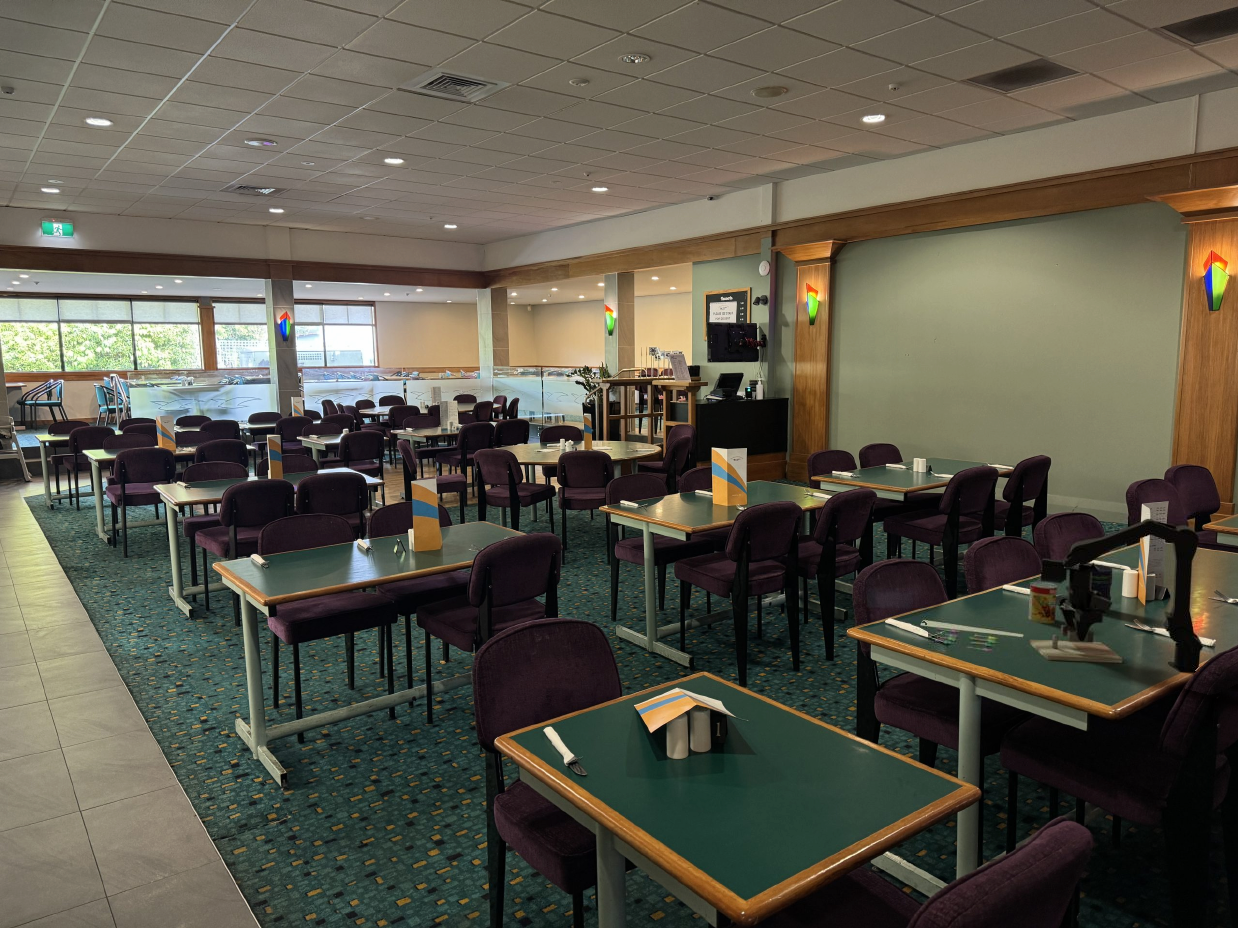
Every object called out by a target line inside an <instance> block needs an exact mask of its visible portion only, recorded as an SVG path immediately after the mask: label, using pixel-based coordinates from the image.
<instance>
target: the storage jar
mask: <svg viewBox="0 0 1238 928" xmlns="http://www.w3.org/2000/svg"><path fill="white" fill-rule="evenodd" d="M1090 564H1091V563H1088V564H1084V565H1090ZM1095 565H1096V566H1097V567H1098V568H1099V571H1100V572H1099V573H1095V572H1092V580H1091V590H1092V591H1098V592H1100V593H1102V597H1104V598H1105V599H1108V600H1109V601H1111V600H1112V596H1111V587H1112V584H1113V568H1112V567H1109V566H1106V565H1103V564H1102V565H1101V564H1095ZM1111 602H1112V601H1111ZM1088 609H1090V608H1088ZM1094 609H1095V610H1096V611H1098V612H1100V613H1101V614H1102V615H1106V614H1109V613H1110V611H1111V610H1109V612H1105V611H1104V610H1102V609H1099V608H1096V607H1095V608H1094Z"/></svg>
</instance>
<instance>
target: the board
mask: <svg viewBox="0 0 1238 928" xmlns="http://www.w3.org/2000/svg"><path fill="white" fill-rule="evenodd" d="M1029 644H1030V645H1031V646H1032V647H1033V648H1034V649H1035V650H1036V651H1037V652H1038V653H1040V654H1041V656H1043V657H1044V658H1045V659H1046V660H1047V661H1048V660H1049V661H1069V662H1070V661H1073V662H1074V661H1075V662H1095V663H1116V664H1117V663H1120V664H1122V663H1123V658H1122V657H1121V656H1119V654H1118V653H1116V652H1115V651H1114V650H1112V649H1111V648H1110V647H1108V646H1106V645H1105V644H1103V643H1102V642H1099V641H1093V643H1088V642H1069V641H1068V640H1059V635H1057V634H1053V635H1052V640H1051V639H1050V640H1047V639H1030V640H1029Z"/></svg>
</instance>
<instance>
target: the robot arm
mask: <svg viewBox="0 0 1238 928" xmlns="http://www.w3.org/2000/svg"><path fill="white" fill-rule="evenodd" d="M1148 536H1153V537H1157V538H1158V539H1161V540H1163V541H1166V542H1170V543H1171V546H1172V549H1173V555H1174V573H1173V574H1174V575H1173V578H1174V579H1173V594H1172V596H1173V598H1172V607H1171V610H1170V612H1168V611H1164V617H1165V621H1164V623H1163V627H1164V629H1165V631H1166V632H1167V633H1168V635H1169V638H1170V639H1171V640H1172V641H1173V642H1175V645H1174V653H1173V654H1174V656H1173V661H1167V664H1168V665H1169V666H1171V667H1173V668H1174V669H1176V670H1177V671H1178V672H1183V673H1195V672H1194V671H1195V670H1196V669H1197V668H1198V667H1200V657H1201V651H1202V649H1203V648H1204V645H1203V643H1202V641H1201V639H1200V637H1199V636H1198V635H1197V634H1196V632H1195V631H1194V624H1193V619H1192V616H1191V615H1192V614H1191V591H1192V571H1193V561H1194V559H1195V556H1196V552H1197V549H1198V546H1199V542H1200V539H1199V535H1198V534H1197V532H1196V531H1195V530H1194V529H1193V528H1192V527H1191V526H1188V525H1185V524H1184V525H1183V524H1182V525H1177V526H1176V525H1173V524H1170V523H1165V522H1161V521H1158V520H1155V519H1152V518H1145V519H1143V520H1142V521H1141V522H1137V523H1135V524H1132V525H1130V526H1127V527H1125V528H1122V529H1120V530H1116V531H1114V532H1111V533H1108V534H1106V535H1103V536H1101V537H1098V538H1097V537H1096V538H1089V539H1085V540H1080V541H1076V542H1075V543H1073V544H1072V545H1071V547H1070V552H1069V553H1067V555H1066V556H1065V557H1064V558H1063V559H1062V560H1056V559H1049V558H1042V564H1041V569H1040V570H1041V571H1040V582H1047V583H1052V584H1063V582H1065V581H1066V582H1067V573H1068V572H1069V574H1068V585H1066V586H1065V591H1067V592H1068V593H1067V595H1061V594H1060V595H1059V594H1058V595H1056V598H1055V604H1056V606H1057V607H1058V610H1059V612H1060V614H1061V616H1062V618H1063V620H1064V623H1065V625H1075V628H1076V631H1077V635H1078V638H1079V640H1080V641H1084V639H1085V637H1086V635H1087V633H1088V630H1090V628H1091V627H1092V625H1094V624H1103V623H1104V614H1101V613H1100V612H1098V611H1096V610H1095V609H1094V608H1095V607H1096V608H1099V609H1102V610H1104V611H1105V612H1109V610H1110V609H1111V608H1112V605H1113V601H1109V600H1108V599H1105V598H1104V597H1102V593H1100V592H1098V591H1092V590H1091V580H1092V572H1095V573H1099V572H1100V571H1099V568H1098V567H1097V566H1096V565H1097V564H1095V562H1093V561H1095V560H1096V559H1099V558H1100V557H1101V556H1102V555H1104V554H1105V553H1107V552H1109V551H1111V550H1114V549H1116V548H1119V547H1122V546H1124V545H1127V544H1130V543H1132V542H1135V541H1137V540H1138V541H1139V540H1141V539H1144V538H1145V537H1148ZM1091 562H1092V563H1091ZM1085 564H1090V565H1085ZM1077 565H1078V566H1077ZM1067 571H1068V572H1067ZM1088 608H1090V609H1088ZM1110 611H1111V610H1110ZM1109 613H1110V612H1109Z"/></svg>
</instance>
